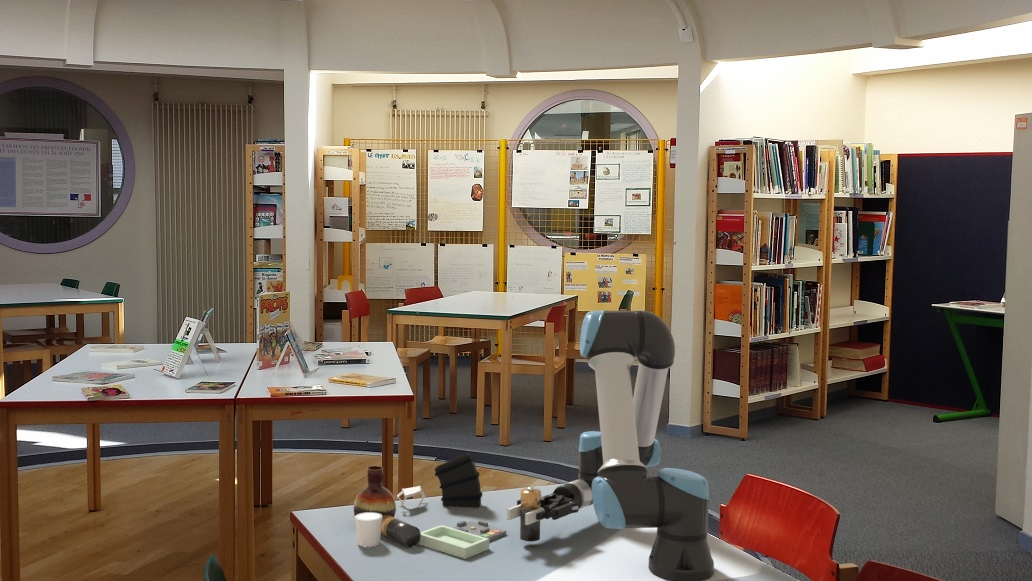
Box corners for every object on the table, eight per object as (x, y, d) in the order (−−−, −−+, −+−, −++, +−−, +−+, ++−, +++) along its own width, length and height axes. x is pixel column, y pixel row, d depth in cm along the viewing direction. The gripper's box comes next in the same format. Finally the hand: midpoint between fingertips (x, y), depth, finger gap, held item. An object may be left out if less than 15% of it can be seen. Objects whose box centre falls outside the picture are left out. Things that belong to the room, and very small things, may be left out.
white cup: (366, 550, 227) (366, 522, 227) (348, 543, 232) (349, 515, 231) (388, 543, 232) (388, 516, 232) (370, 536, 237) (370, 509, 236)
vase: (358, 517, 252) (358, 461, 251) (398, 518, 251) (399, 462, 250) (349, 531, 241) (349, 472, 240) (392, 532, 240) (392, 473, 239)
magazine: (490, 503, 261) (468, 454, 261) (448, 520, 263) (427, 472, 263) (492, 499, 265) (471, 451, 265) (451, 516, 267) (430, 469, 267)
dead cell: (420, 544, 232) (420, 525, 231) (404, 549, 228) (404, 529, 228) (391, 531, 241) (391, 512, 241) (375, 535, 238) (375, 516, 237)
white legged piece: (398, 501, 268) (398, 484, 267) (427, 502, 267) (427, 485, 267) (390, 514, 256) (390, 496, 255) (420, 515, 255) (420, 497, 255)
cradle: (506, 534, 240) (506, 527, 240) (483, 543, 233) (483, 536, 233) (471, 524, 248) (471, 517, 248) (448, 532, 241) (448, 526, 241)
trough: (489, 549, 229) (489, 538, 229) (464, 558, 222) (465, 548, 222) (441, 534, 239) (441, 524, 239) (416, 543, 232) (417, 533, 232)
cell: (544, 538, 232) (545, 488, 231) (529, 542, 229) (530, 491, 228) (530, 533, 236) (531, 484, 235) (515, 537, 233) (516, 487, 232)
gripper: (599, 517, 241) (546, 539, 222) (544, 504, 252) (489, 524, 234) (600, 489, 240) (547, 509, 222) (544, 477, 251) (489, 495, 233)
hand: (517, 516), depth 228 cm, fingers closed on cell, 5 cm apart
